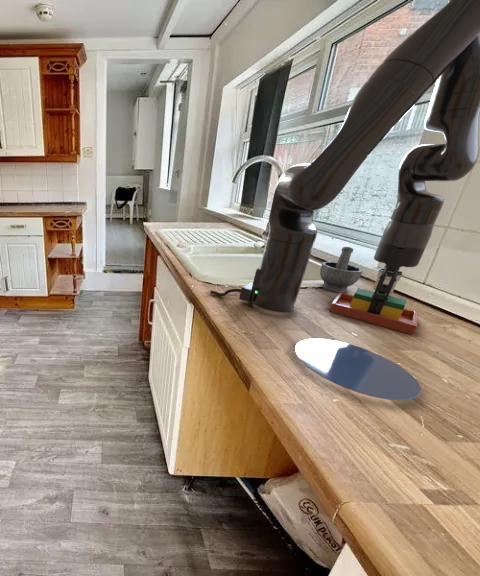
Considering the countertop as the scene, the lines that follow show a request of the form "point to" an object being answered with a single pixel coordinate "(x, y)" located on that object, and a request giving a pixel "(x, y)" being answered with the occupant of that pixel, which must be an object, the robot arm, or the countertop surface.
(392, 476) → the countertop surface
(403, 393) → the mirror
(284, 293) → the robot arm
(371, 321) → the sponge dish
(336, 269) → the mortar and pestle
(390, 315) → the sponge
